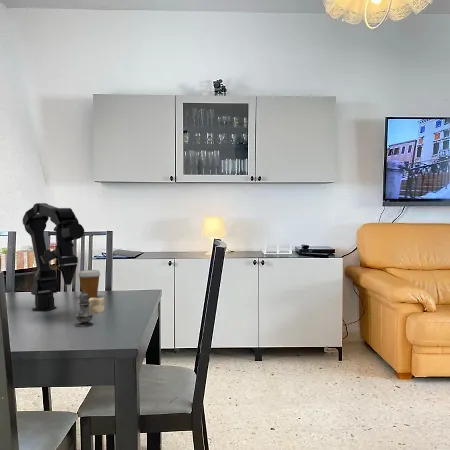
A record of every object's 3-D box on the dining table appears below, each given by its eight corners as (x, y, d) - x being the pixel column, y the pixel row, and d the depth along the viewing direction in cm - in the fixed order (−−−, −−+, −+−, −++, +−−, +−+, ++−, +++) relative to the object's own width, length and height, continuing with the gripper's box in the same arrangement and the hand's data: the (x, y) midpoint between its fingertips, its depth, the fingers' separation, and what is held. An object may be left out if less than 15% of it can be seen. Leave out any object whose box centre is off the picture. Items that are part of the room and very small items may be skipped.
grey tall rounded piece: (88, 327, 154) (87, 291, 154) (72, 326, 155) (71, 291, 155) (96, 323, 160) (96, 288, 160) (81, 322, 161) (80, 288, 161)
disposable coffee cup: (97, 300, 201) (96, 272, 200) (75, 300, 201) (75, 272, 200) (103, 296, 210) (102, 269, 210) (82, 296, 210) (82, 269, 210)
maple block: (87, 313, 176) (86, 300, 176) (91, 310, 181) (91, 297, 181) (100, 313, 176) (99, 300, 175) (104, 310, 181) (103, 297, 180)
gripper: (39, 245, 174) (43, 287, 173) (42, 241, 157) (45, 287, 156) (70, 243, 178) (74, 283, 177) (76, 239, 162) (79, 283, 160)
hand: (67, 284), depth 168 cm, fingers open, 9 cm apart
